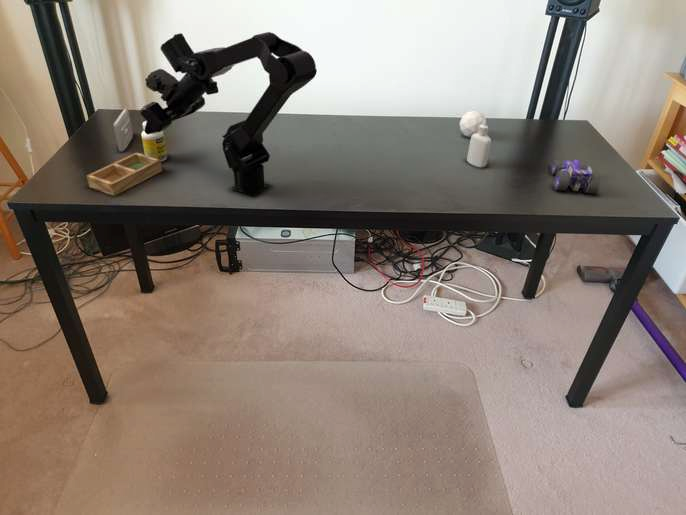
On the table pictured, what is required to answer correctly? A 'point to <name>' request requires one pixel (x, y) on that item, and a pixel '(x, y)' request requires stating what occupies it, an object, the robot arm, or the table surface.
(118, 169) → the tray
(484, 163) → the eye dropper bottle
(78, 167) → the table surface
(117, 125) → the cassette
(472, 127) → the geometric ball
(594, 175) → the toy race car
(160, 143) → the supplement bottle
